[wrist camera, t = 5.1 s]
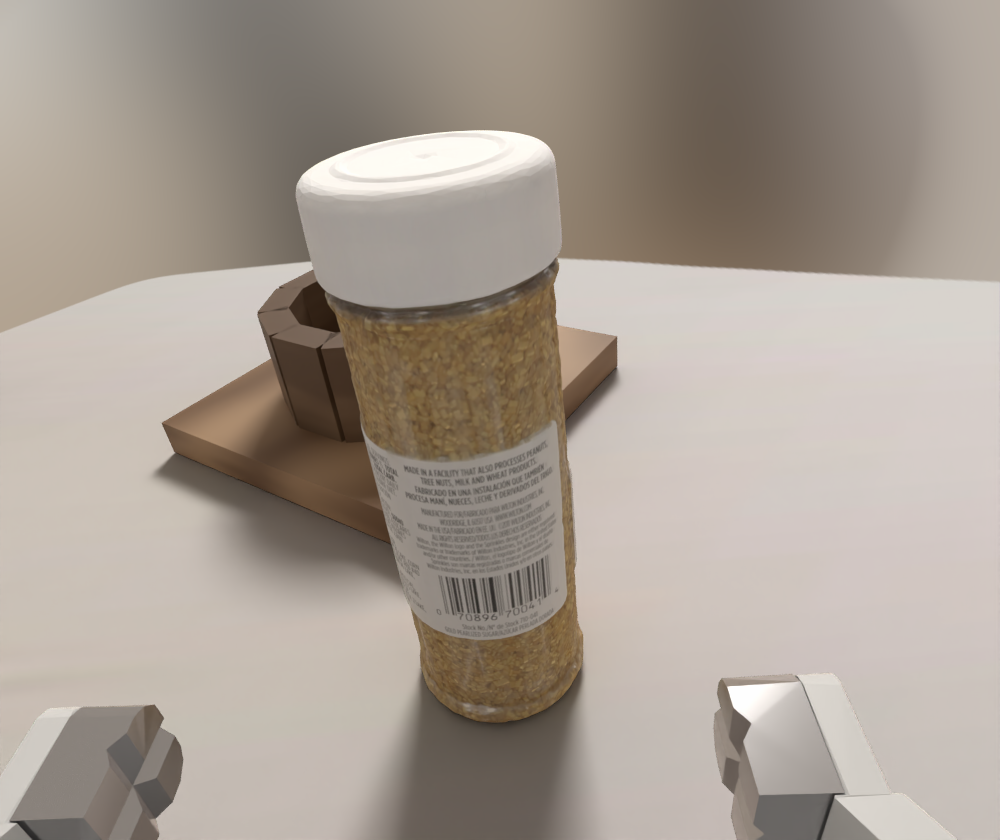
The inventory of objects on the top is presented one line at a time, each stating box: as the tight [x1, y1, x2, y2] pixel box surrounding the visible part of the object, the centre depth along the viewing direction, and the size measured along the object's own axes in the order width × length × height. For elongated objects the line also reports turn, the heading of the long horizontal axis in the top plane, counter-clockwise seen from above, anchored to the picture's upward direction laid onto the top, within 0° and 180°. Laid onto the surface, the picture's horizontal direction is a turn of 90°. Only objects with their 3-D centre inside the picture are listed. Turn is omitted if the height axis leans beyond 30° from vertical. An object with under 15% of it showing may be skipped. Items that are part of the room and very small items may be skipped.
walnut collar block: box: [162, 270, 617, 544], centre depth 29 cm, size 14×14×6 cm
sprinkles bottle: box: [296, 130, 583, 723], centre depth 16 cm, size 5×5×14 cm
